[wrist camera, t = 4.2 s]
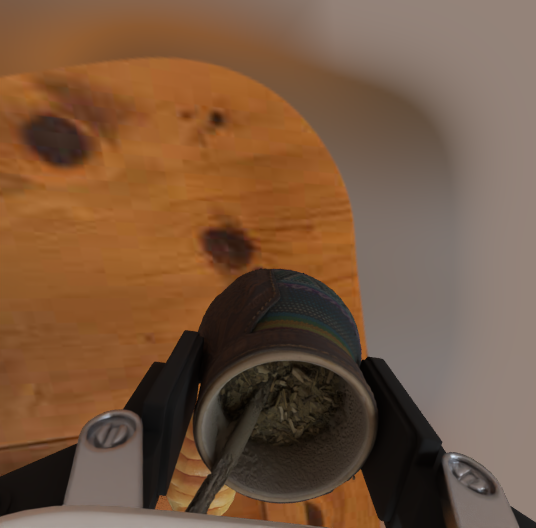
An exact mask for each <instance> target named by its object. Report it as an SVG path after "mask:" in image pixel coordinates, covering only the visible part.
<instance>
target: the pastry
mask: <svg viewBox="0 0 536 528" xmlns="http://www.w3.org/2000/svg"><path fill="white" fill-rule="evenodd" d="M193 414H194V412H193ZM193 414H192V417H191V420H190V423H189V426H188V429H187V433H186V436H185V439H184V442H183V445H182V448H181V451H180V454H179V457H178V461H177V464H176V467H175V470H174V473H173V476H172V479H171V482H170V485H169V489H168V492H167V494H166V497H167V498H168V501H169V503H170V505H171V507H172V510H173V511H178V512H185V510H186V509H187V507H188V505H189V504H190V503H191V501H192V500H193V498H194V496H195V494H196V493H197V491H198V489H199V488H200V486H201V485H202V483H203V482H204V480H205V479H206V477H207V475H209V474H211V472H210V470H209V469H208V468H207V467H206V465H205V464H204V462H203V461H202V459H201V457H200V455H199V453H198V451H197V448H196V446H195V442H194V437H193V425H192V423H193ZM235 492H236V491H235V490H233V489H231V488H230V487H228V486H227V485H225V484H224V486H223V487H222V488H221V489H220V491H219V492H218V493H217V494H215V499H214V500H213V501H212V503H211V504H210V507H209V508H208V511H207V513H208V514H207V515H216V516H220V515H222V514H223V513H224V512H225V511H226V510H228V508H229V506H230V505H231V503H232V501H233V499H234V495H235Z"/></svg>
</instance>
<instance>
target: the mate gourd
mask: <svg viewBox="0 0 536 528" xmlns="http://www.w3.org/2000/svg"><path fill="white" fill-rule="evenodd" d="M198 332H199V333H200V336H202V337H204V345H203V353H202V359H201V365H200V372H199V380H198V382H199V383H201V386H200V390H199V395H198V400H197V403H196V405H195V409H194V414H193V423H192V425H193V437H194V442H195V446H196V448H197V451H198V453H199V455H200V457H201V459H202V461H203V462H204V464H205V465H206V467H207V468H208V469H209V470H210V472H211V474H209V475H207V477H206V479H205V480H204V482H203V483H202V485H201V486H200V488H199V489H198V491H197V493H196V494H195V496H194V498H193V500H192V501H191V503H190V504H189V505H188V507H187V509H186V510H185V512H188V513H197V514H208V513H207V511H208V508H209V507H210V504H211V503H212V501H213V500H214V499H215V494H217V493H218V492H219V491H220V489H221V488H222V487H223V486H224V484H225V485H227V486H228V487H230V488H231V489H233V490H235V491H236V492H238V493H240V494H242V495H245V496H247V497H250V498H252V499H256V500H260V501H264V502H269V503H296V502H301V501H306V500H309V499H313V498H316V497H319V496H322V495H326V494H329V493H331V492H332V491H333V490H334V489H335V488H336V487H338V486H340V485H341V484H343V483H344V482H346V481H349V480H350V479H351V478H352V476H353V480H355V476H354V475H355V474H356V473H357V472H358V471H359V470H360V469H361V468H362V466H363V465H364V464H365V462H366V460H367V458H368V457H369V455H370V453H371V451H372V449H373V446H374V444H375V440H376V437H377V431H378V409H377V407H376V400H375V399H374V395H373V392H372V391H371V388H370V386H369V385H368V384H367V383H366V380H365V378H364V376H363V373H362V372H361V370H360V368H359V367H360V363H361V359H362V358H361V354H362V353H361V344H360V339H359V333H358V330H357V325H356V323H355V321H354V318H353V316H352V314H351V312H350V311H349V309H348V308H347V307H346V305H345V304H344V303H343V301H342V299H341V298H340V297H338V295H337V294H336V293H335V292H334V291H333V290H332V289H330V288H329V287H328V286H326V285H325V284H324V283H322V282H321V281H319V280H317V279H315V278H313V277H310V276H308V275H306V274H304V273H300V272H297V271H292V270H285V269H259V270H255V271H251V272H249V273H246V274H244V275H242V276H240V277H239V278H237V279H236V280H235V281H234V282H233V283H232V284H231V285H229V286H228V287H227V288H226V289H225V290H224V291H223V292H222V293H221V294H220V295H218V296H217V297H216V298H215V299H214V301H212V303H211V304H210V306H209V308H208V309H207V311H206V313H205V315H204V316H203V319H202V323H201V325H200V327H199V330H198Z"/></svg>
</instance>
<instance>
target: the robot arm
mask: <svg viewBox="0 0 536 528" xmlns="http://www.w3.org/2000/svg"><path fill="white" fill-rule="evenodd" d="M203 345H204V337H202V336H200V333H199V332H194V331H187V330H185V331H184V332H183V334H182V336H181V338H180V339H179V341H178V343H177V345H176V346H175V348H174V350H173V352H172V353H171V355H170V357H169V359H168V360H167V362H166V363H162V362H154V363H153V364H152V365H151V367H150V369H149V370H148V372H147V373H146V375H145V376H144V378H143V379H142V381H141V382H140V384H139V385H138V387H137V389H136V390H135V392H134V393H133V395H132V396H131V398H130V399H129V401H128V402H127V404H126V406H125V407H124V409H121V410H111V411H107V412H104V413H102V414H99V415H97V416H95V417H94V418H93V419H91V420H90V421H88V423H87V424H86V425H85V426H84V427H83V428H82V431H81V433H80V435H79V439H78V443H77V444H75V445H72V446H70V447H68V448H65V449H63V450H61V451H58V452H56V453H54V454H52V455H49V456H47V457H45V458H42V459H40V460H38V461H35V462H33V463H31V464H28V465H26V466H24V467H22V468H19V469H17V470H15V471H12V472H10V473H8V474H5V475H3V476H1V477H0V528H327V527H318V526H309V525H300V524H291V523H282V522H273V521H264V520H254V519H245V518H235V517H226V516H216V515H207V514H197V513H188V512H178V511H167V510H155V507H156V504H157V501H158V498H159V495H162V496H166V494H167V492H168V489H169V485H170V482H171V479H172V476H173V473H174V470H175V467H176V464H177V461H178V457H179V454H180V451H181V448H182V445H183V442H184V439H185V436H186V433H187V429H188V426H189V423H190V420H191V417H192V414H193V411H194V408H195V404H196V399H197V393H198V385H199V382H198V380H199V372H200V365H201V359H202V353H203ZM359 368H360V370H361V372H362V373H363V376H364V378H365V380H366V383H367V384H368V385H369V386H370V388H371V391H372V392H373V395H374V399H375V400H376V407H377V409H378V431H377V437H376V440H375V444H374V446H373V449H372V451H371V453H370V455H369V457H368V458H367V460H366V462H365V464H364V465H363V466H362V468H361V470H362V473H363V476H364V479H365V482H366V485H367V487H368V490H369V493H370V496H371V499H372V502H373V505H374V507H375V510H376V513H377V516H378V518H379V519H380V520H381V521H384V524H385V526H386V528H536V522H534V521H533V520H531V519H530V518H528V517H526V516H525V515H523V514H522V513H520V512H519V511H517V510H516V509H514V508H513V507H511V506H510V505H509V502H508V500H507V498H506V496H505V493H504V491H503V489H502V487H501V485H500V484H499V482H498V480H497V479H496V478H495V477H494V475H493V474H492V473H491V472H490V471H488V470H487V469H486V468H485V467H484V466H483V465H481V464H480V463H478V462H477V461H475V460H474V459H472V458H470V457H467V456H465V455H463V454H460V453H455V452H449V453H446V452H445V450H444V449H443V447H442V446H441V444H442V441H441V439H440V438H439V437H438V435H437V434H436V432H435V431H434V430H433V428H432V427H431V426H430V424H429V423H428V421H427V420H426V418H425V417H424V416H423V414H422V413H421V411H420V410H419V409H418V407H417V406H416V404H415V403H414V402H413V400H412V399H411V397H410V396H409V394H408V393H407V392H406V390H405V389H404V388H403V386H402V385H401V383H400V382H399V380H398V379H397V378H396V376H395V375H394V373H393V372H392V371H391V369H390V368H389V366H388V365H387V364H386V362H385V361H384V360H383V359H380V358H373V357H367V358H366V359H365V360H362V361H361V363H360V367H359Z"/></svg>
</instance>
